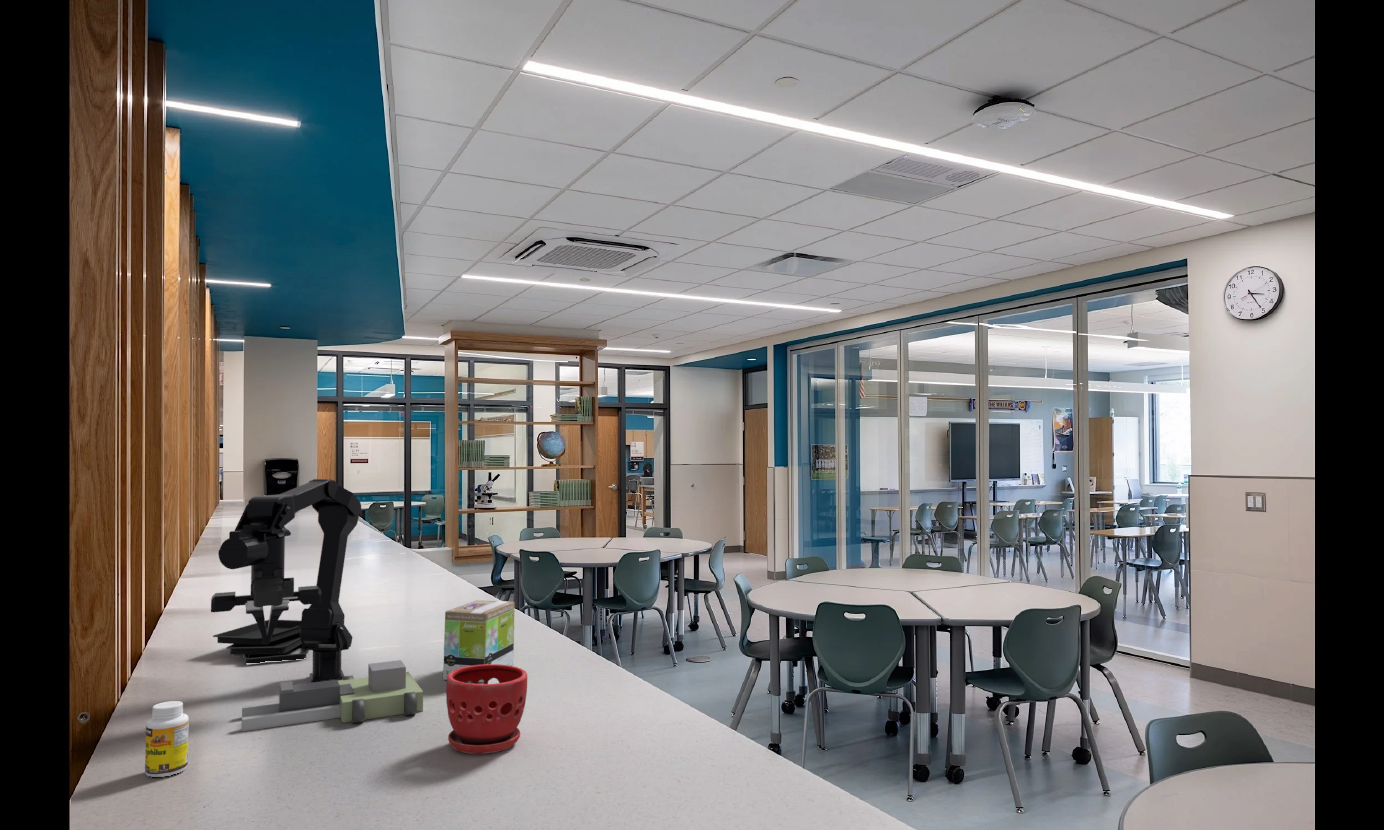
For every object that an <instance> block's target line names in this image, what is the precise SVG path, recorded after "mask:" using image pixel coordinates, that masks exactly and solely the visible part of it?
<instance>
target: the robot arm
mask: <svg viewBox="0 0 1384 830" xmlns="http://www.w3.org/2000/svg"><path fill="white" fill-rule="evenodd" d="M308 507H312V508H313V510H315V512H317V514H318V515H317V522H318V524H319V526H320V529H321V532H322V533H323V536H322V538H323V539H322V546H321V551H320V558H319V565H318V572H317V579H316V585H309V586H308V585H307V586H298V587H297V591H296V590H295V578H294V577H285V562H286V561H285V558H286V557H285V555H286V554H285V552H286V551H285V550H286V549H285V548H286V545H285V544H286V538H285V537H290V536H291V535H292V532H291V531H290V530H289V529H288V528H286V527H285V526H286V525H287V524H289V523H290V522H291V521H293V520H294V519H295V517H296V513H298V512H300V511H301V510H304V509H306V508H308ZM361 511H362V504H361V501H360V500H359V499H358V497H356V495H355V494H354V493H353V492H352V491H351V490H348V489H346V488H344V487H342V486H341V485H339V484H338V482H337V481H335V480H333V479H331V478H314V479H312V480H309V481H308V482H307V483H305V484H301V485H299V486H297V487H295V488H292V489H289V490H286V491H284V492H281V493H280V494H268V495H259V496H252V497H251V498H250V499H249V500H248V502H247V505H246V506H245V507H244V509H243V512H242V514H241V517H240V518H239V521H238V522H237V525H236V527H235V529H234V530H231V531H229V533H228V536H229V538H227V539H225V540H224V541H223V542H222V543H221V544H220V548H219V549H218V559H219V562H220V564H221V565H222V566H224V567H225V568H226V569H229V570H237V569H242V568H247V567H251V568H250V570H251V571H250V594H244V595H243V594H242V595H236V591H225V592H216V593H214V594H213V595H212V596H211V599H210V612H211V613H221V612H223V613H224V612H231V611H232V610H233V609H234V608H235V607H237V606H238V607H239V606H244V607H245V614H246V615H252V616H253V618H254V620H255V622H256V623H257V624H258V626H259V629H260V632H261V635H262V638H263V641H264V644H269V643H270V640H271V637H272V634H273V632H274V629H275V626H276V623H277V621H278V620H280V617H281V616H282V613H283V612H287V611H289V608H290V606H289V604H290V602H298V601H299V602H300V603H301V604H302V605H304V606H307V605H309V607H307V608H303V610H302V612H301V620H300V621H301V624H300V626H299V628H300V630H299V634H300V638H301V643H302V644H301V646H302V647H301V648H302V650H303V651H304V652H306V650H309V651H312V671H311V673H309V679H310V683H314V682H322V681H330V680H342V677H343V676H345V673H344V672H343V669H342V651H346V650H350V647H351V646H352V644H353V642H352V641H353V635H352V634H351V632H350V631H349V630H348V628H347V627H346V625H345V613H344V610H343V609H342V607H341V605H340V594H341V586H342V581H343V572H344V566H345V560H346V550H347V546H348V545H347V543H348V537H349V536H350V534H351V533H352V532H353V530H354V529H355V528H356V526H357V525H358V522H359V518H360V514H361ZM269 606H270V611H269V619H268V620H269V624H268V631H267V633H266V625H265V614H264V613H265V612H264V607H269Z"/></svg>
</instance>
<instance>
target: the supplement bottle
mask: <svg viewBox="0 0 1384 830" xmlns="http://www.w3.org/2000/svg"><path fill="white" fill-rule="evenodd" d="M151 714H152V717H150V718H149V719H148V720H147V722H146V723H145V753H144V754H145V755H144V757H145V758H144V760H145V762H144V772H145V775H146V776H147V777H149V776H152V777H163V778H165V777H164V776H169V777H172V776H171V775H173V774H176V775H178V774H177V773H179V774H181V773H183V772H184V771H185V770H186V769H187V768H188V765H189V764H188V763H189V726H190V725H189V724H190V723H189V722H190V720H189V719H190V718H189V715H188V714H186V713H184V703H183V701H179V700H172V701H171V700H170V701H163V702H160V703H157V704H155V705H152V713H151ZM182 771H183V772H182ZM180 772H181V773H180ZM173 776H174V775H173ZM152 777H151V778H152Z"/></svg>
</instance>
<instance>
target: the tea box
mask: <svg viewBox="0 0 1384 830" xmlns="http://www.w3.org/2000/svg"><path fill="white" fill-rule="evenodd" d="M443 639H444V640H443V670H442V672H443V673H442V675H443V676H442V679H443V680H444V681H447V676H448V674H449V673H450V672H452V671H454V670H456V669H458V668H462V667H467V666H473V665H483V664H501V665H510V666H513V665H514V660H515V659H514V656H515V655H514V649H515V648H514V646H515V601H505V600H504V601H502V600H481V599H479V600H478V599H475V600H473V601H471V602H468V603H465V604H462V605H460V606H459V605H458V606H457V607H453V608H450V609H449V610H446V611H445V612H444V638H443ZM467 683H472V682H471V681H468V682H467ZM478 683H484V681H483V680H479V682H478Z"/></svg>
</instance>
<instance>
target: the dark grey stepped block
mask: <svg viewBox="0 0 1384 830" xmlns="http://www.w3.org/2000/svg"><path fill="white" fill-rule="evenodd" d="M338 681H339V679H336V680H328V681H320V682H307V683H298V684H293V681H283V682H280V683H279V684H280V685H279V687H278V701H279V712H286V711H294V710H301V709H308V708H316V707H323V706H330V705H338V704H340V685H339V682H338Z"/></svg>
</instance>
